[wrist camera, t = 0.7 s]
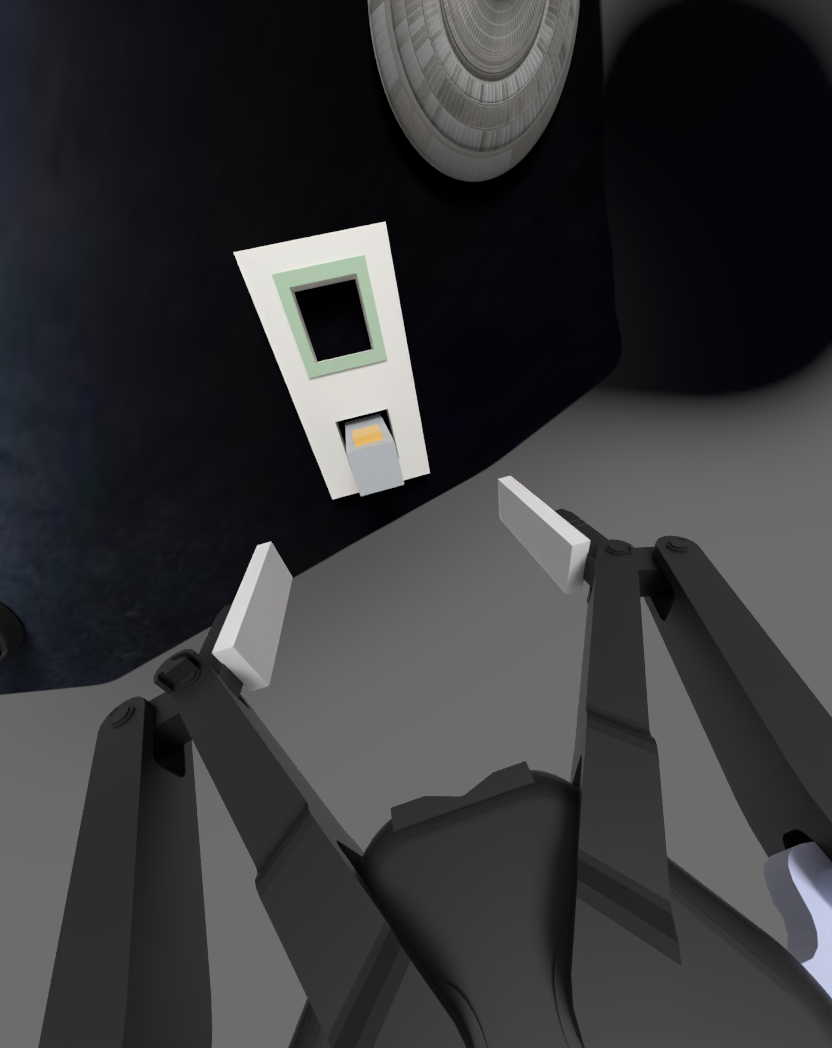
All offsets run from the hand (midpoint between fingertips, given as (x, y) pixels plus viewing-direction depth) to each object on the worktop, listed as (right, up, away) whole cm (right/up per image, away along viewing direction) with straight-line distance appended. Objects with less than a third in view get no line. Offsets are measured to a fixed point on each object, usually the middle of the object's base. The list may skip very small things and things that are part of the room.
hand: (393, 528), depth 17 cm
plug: (-4, +10, +17) cm, 21 cm away
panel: (-5, +15, +14) cm, 21 cm away
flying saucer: (+5, +36, +5) cm, 36 cm away
